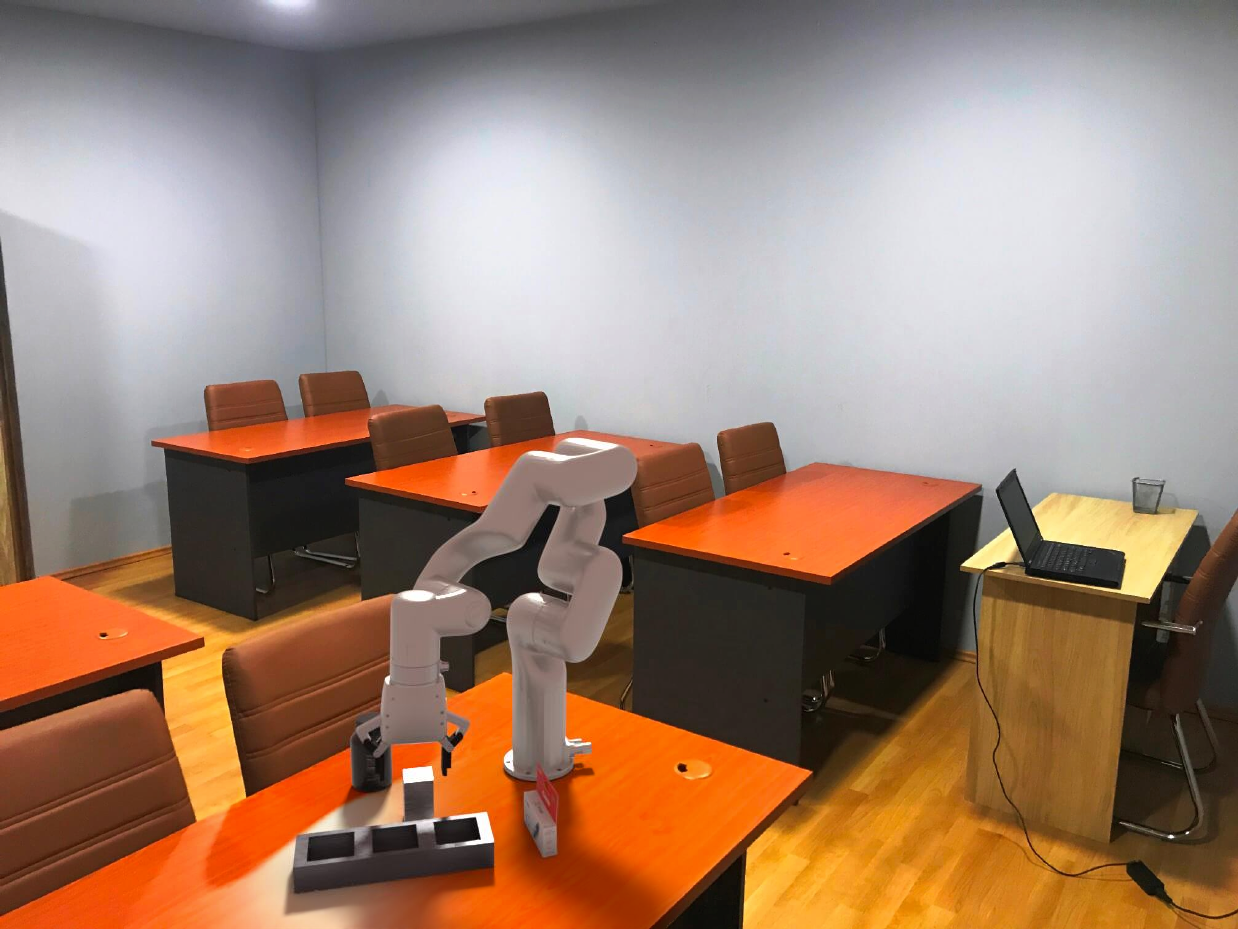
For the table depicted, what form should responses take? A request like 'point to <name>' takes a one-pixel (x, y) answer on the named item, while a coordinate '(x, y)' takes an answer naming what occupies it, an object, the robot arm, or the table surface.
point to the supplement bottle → (368, 760)
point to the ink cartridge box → (542, 815)
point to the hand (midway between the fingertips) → (413, 775)
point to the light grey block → (418, 794)
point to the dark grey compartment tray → (392, 852)
